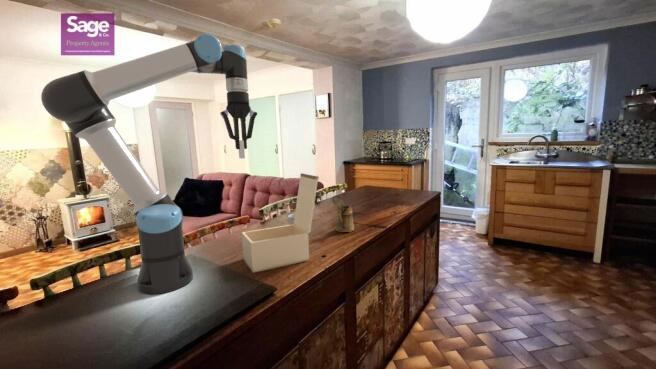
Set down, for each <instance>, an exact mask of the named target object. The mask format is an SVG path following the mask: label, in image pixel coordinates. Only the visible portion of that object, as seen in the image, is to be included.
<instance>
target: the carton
mask: <svg viewBox="0 0 656 369" xmlns="http://www.w3.org/2000/svg"><path fill="white" fill-rule="evenodd" d="M309 241H310V240H309V233H308V232H306V231H304V230H302V229H301V228H299V227H297V226H296V225H294V224H292V225H289V224H285V225H280V226H274V227H268V228H262V229H255V230H249V231H243V232H241V243H242V244H241V245H242V256H243V261H244V262H245V264H246V265H247V266H248V268H249V269H250V270H251V272H252V273H253V274H254V273H258V272H262V271H267V270H273V269H276V268H280V267H286V266H290V265H295V264H298V263H299V264H300V263H304V262H308V261H310V248H309V247H310V246H309V243H310V242H309Z"/></svg>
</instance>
